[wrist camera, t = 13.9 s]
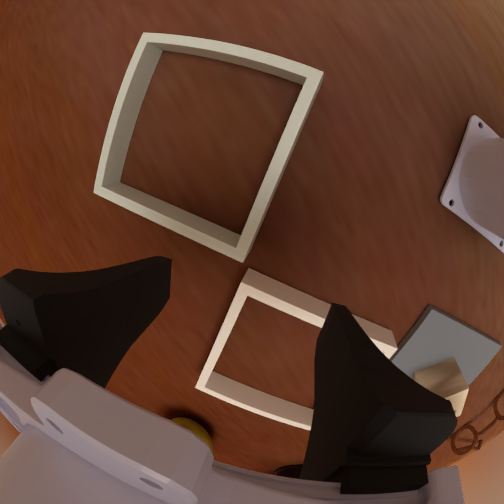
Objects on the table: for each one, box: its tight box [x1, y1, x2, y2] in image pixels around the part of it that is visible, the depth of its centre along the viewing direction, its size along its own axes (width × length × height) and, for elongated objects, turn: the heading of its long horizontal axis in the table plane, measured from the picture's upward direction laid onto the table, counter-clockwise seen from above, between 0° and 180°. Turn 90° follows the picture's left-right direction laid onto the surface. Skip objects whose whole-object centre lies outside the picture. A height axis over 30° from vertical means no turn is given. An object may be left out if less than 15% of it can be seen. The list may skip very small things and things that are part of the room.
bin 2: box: [195, 268, 398, 430], centre depth 23 cm, size 14×14×2 cm
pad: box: [389, 304, 502, 385], centre depth 21 cm, size 13×13×1 cm
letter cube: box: [414, 358, 469, 417], centre depth 19 cm, size 4×4×5 cm
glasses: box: [451, 389, 504, 455], centre depth 20 cm, size 13×13×5 cm
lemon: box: [170, 417, 213, 454], centre depth 28 cm, size 11×8×8 cm
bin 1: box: [94, 33, 324, 263], centre depth 17 cm, size 14×14×2 cm
